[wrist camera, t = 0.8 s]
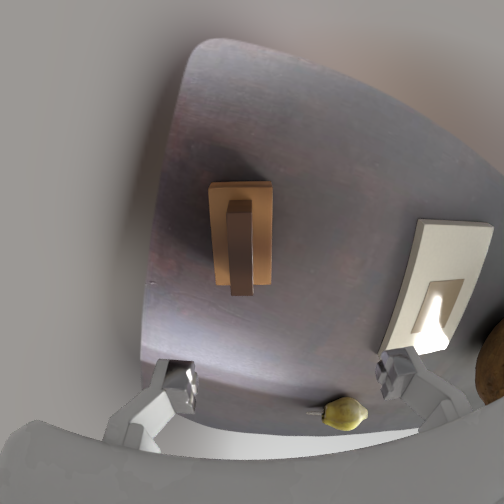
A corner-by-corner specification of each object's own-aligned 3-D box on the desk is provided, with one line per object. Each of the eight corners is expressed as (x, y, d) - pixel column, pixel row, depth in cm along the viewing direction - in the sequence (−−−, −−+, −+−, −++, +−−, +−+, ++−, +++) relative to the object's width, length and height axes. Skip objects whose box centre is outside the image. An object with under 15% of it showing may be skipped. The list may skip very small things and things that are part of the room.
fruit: (304, 398, 39) (367, 390, 37) (308, 405, 43) (364, 399, 41) (304, 432, 35) (370, 425, 33) (308, 436, 39) (366, 430, 37)
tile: (417, 218, 26) (425, 224, 24) (487, 222, 25) (494, 227, 24) (377, 354, 35) (380, 362, 33) (441, 342, 35) (445, 349, 33)
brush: (212, 180, 24) (201, 199, 19) (270, 178, 24) (275, 198, 19) (218, 269, 28) (212, 305, 23) (269, 268, 28) (273, 305, 23)
